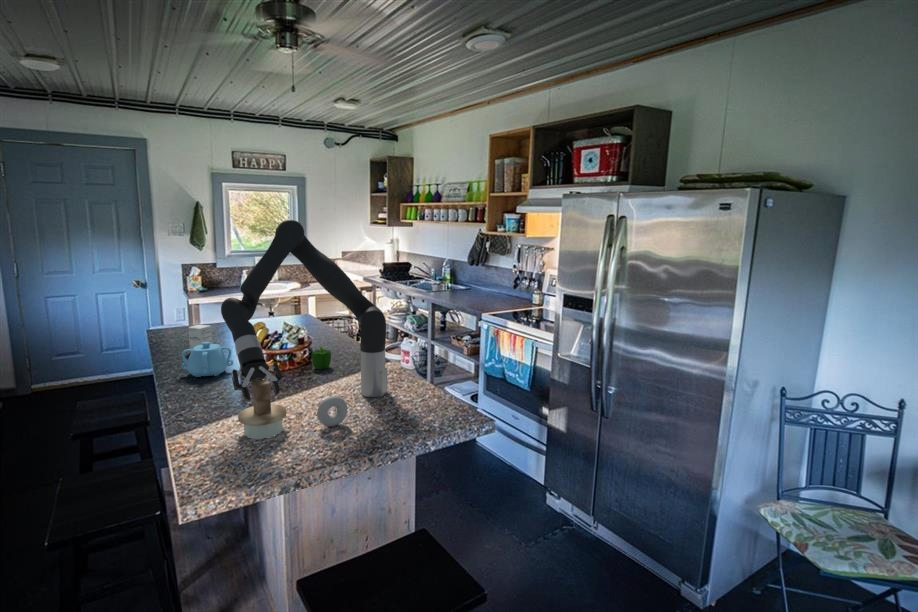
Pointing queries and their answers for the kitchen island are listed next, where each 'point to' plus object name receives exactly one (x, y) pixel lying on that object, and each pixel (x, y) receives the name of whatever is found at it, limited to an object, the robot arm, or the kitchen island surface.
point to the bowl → (263, 430)
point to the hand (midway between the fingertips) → (263, 396)
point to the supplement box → (199, 335)
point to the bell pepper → (321, 358)
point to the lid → (261, 407)
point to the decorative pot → (206, 360)
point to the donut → (326, 405)
